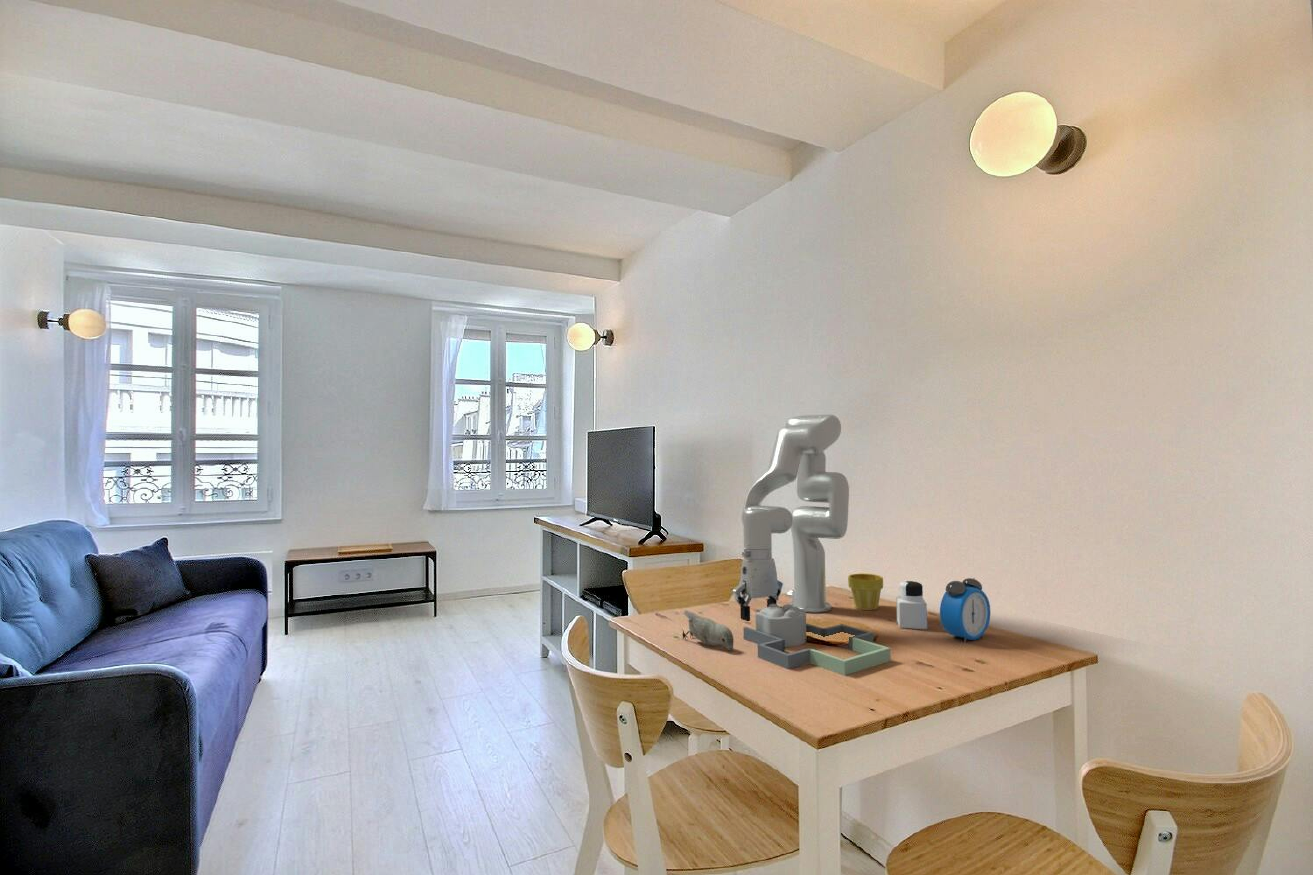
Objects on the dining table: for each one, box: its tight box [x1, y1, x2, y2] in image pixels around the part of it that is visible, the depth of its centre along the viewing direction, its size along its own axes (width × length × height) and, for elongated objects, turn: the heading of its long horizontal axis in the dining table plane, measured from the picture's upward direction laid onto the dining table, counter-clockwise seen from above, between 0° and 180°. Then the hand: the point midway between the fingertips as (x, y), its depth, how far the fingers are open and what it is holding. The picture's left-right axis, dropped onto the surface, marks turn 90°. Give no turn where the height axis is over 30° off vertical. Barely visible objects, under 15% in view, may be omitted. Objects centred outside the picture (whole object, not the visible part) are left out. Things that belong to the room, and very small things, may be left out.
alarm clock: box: [939, 577, 991, 643], centre depth 162 cm, size 13×6×15 cm, turn 120°
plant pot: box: [847, 572, 884, 611], centre depth 194 cm, size 10×10×10 cm
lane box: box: [743, 622, 892, 676], centre depth 154 cm, size 33×30×3 cm
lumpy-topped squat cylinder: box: [755, 603, 807, 648], centre depth 162 cm, size 10×13×9 cm
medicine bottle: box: [895, 580, 928, 630], centre depth 174 cm, size 7×7×12 cm
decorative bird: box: [681, 610, 734, 653], centre depth 159 cm, size 5×16×7 cm, turn 42°
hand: (758, 617), depth 170 cm, fingers open, 9 cm apart
